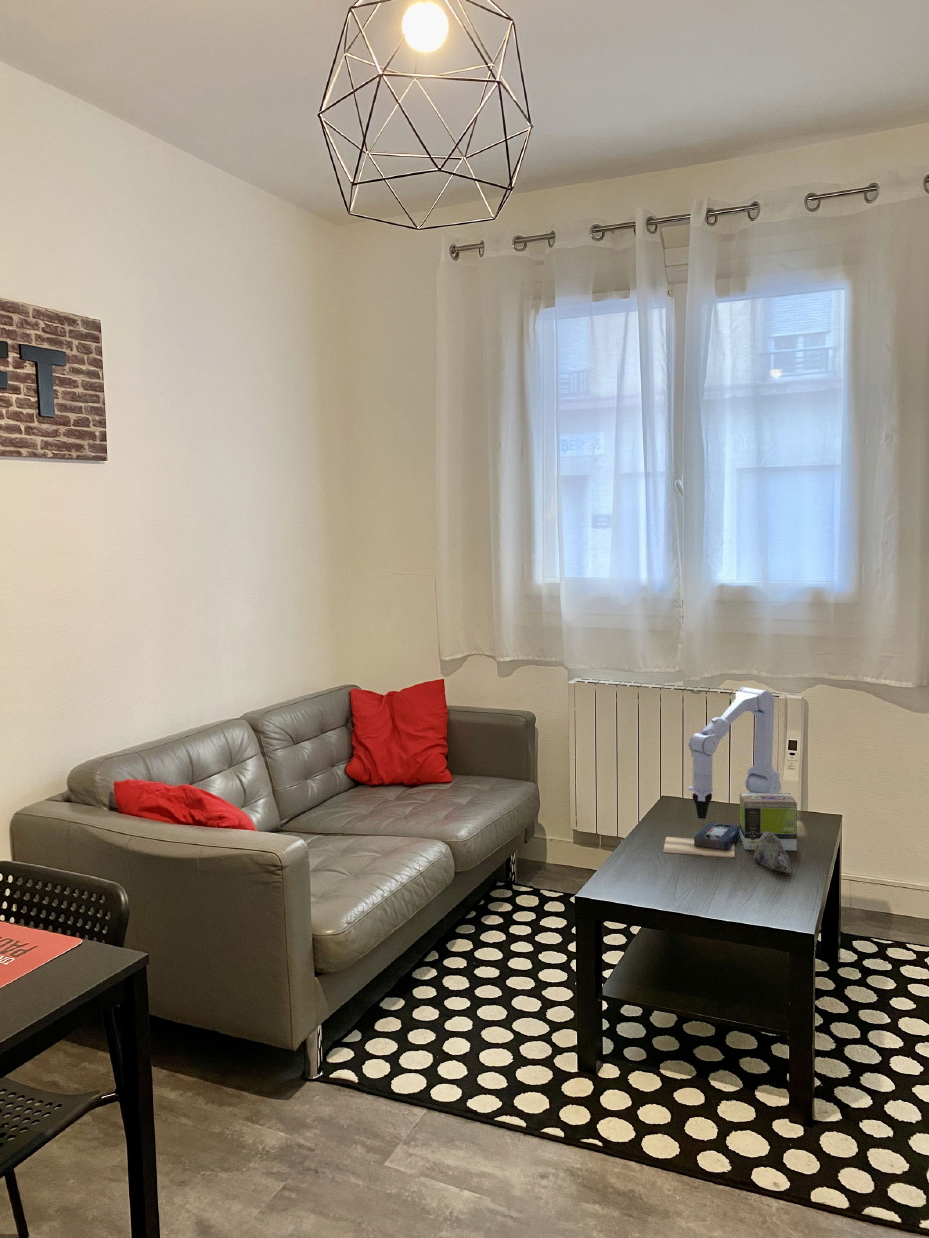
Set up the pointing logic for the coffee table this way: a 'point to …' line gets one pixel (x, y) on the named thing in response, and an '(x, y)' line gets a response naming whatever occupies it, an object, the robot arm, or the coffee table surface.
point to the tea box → (768, 818)
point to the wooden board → (695, 848)
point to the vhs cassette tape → (717, 836)
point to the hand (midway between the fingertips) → (702, 817)
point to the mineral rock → (772, 853)
